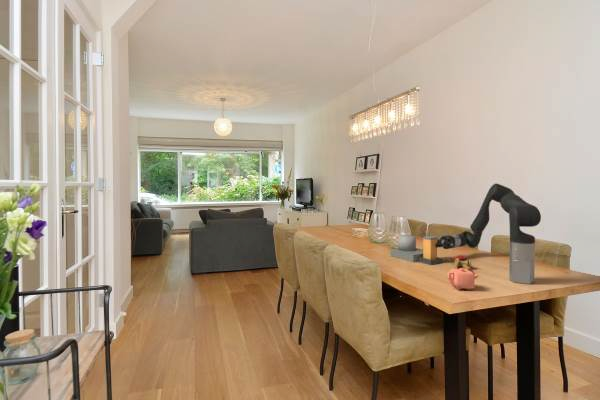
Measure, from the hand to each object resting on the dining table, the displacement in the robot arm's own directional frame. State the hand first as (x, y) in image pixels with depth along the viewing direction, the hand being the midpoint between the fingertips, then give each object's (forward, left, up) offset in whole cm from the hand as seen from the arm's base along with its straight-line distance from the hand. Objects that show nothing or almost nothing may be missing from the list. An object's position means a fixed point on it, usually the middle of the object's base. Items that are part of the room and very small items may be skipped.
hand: (429, 244), depth 183 cm
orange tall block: (0, 0, -10) cm, 10 cm away
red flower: (-7, -18, -10) cm, 22 cm away
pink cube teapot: (-40, -22, -10) cm, 47 cm away
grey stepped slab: (+5, +8, -10) cm, 13 cm away
